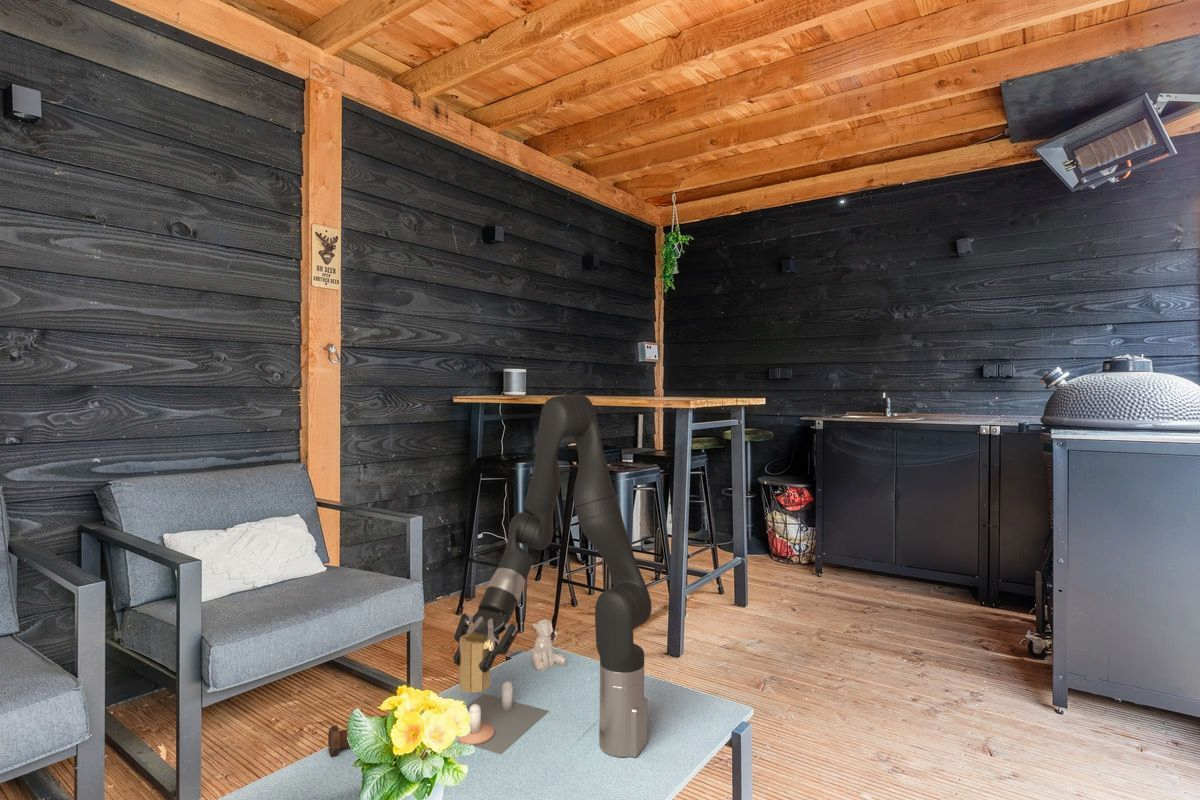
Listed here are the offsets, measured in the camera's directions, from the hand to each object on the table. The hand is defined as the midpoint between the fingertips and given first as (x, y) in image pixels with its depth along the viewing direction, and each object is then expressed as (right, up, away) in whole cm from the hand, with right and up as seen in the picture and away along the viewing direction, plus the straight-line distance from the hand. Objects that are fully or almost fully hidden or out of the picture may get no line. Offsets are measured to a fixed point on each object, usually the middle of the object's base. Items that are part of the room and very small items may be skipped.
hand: (469, 667), depth 133 cm
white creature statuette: (+12, -16, +39) cm, 44 cm away
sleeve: (+1, -4, +2) cm, 5 cm away
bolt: (-21, -17, +1) cm, 27 cm away
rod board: (+3, -16, +7) cm, 18 cm away
